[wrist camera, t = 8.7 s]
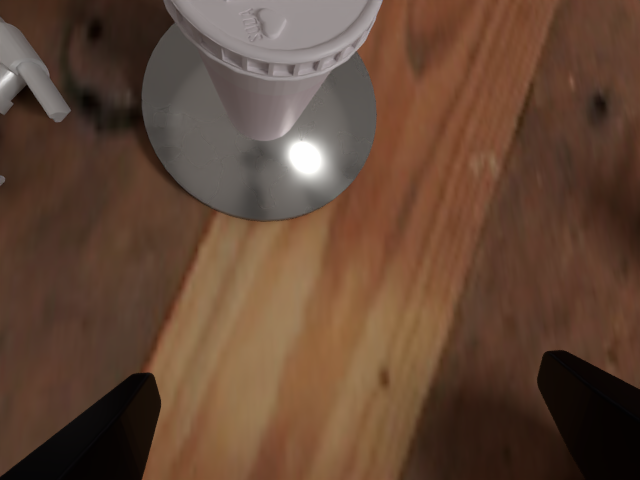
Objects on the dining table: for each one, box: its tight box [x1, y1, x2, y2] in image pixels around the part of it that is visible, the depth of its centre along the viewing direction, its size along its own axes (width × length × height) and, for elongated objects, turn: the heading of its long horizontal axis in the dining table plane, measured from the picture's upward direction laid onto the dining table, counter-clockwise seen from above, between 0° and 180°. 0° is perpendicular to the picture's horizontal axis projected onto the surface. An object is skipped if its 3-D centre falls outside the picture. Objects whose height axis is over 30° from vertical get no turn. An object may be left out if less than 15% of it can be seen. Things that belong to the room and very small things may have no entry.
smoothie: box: [163, 0, 383, 141], centre depth 12 cm, size 6×6×14 cm
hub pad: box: [142, 23, 377, 222], centre depth 20 cm, size 12×12×1 cm
